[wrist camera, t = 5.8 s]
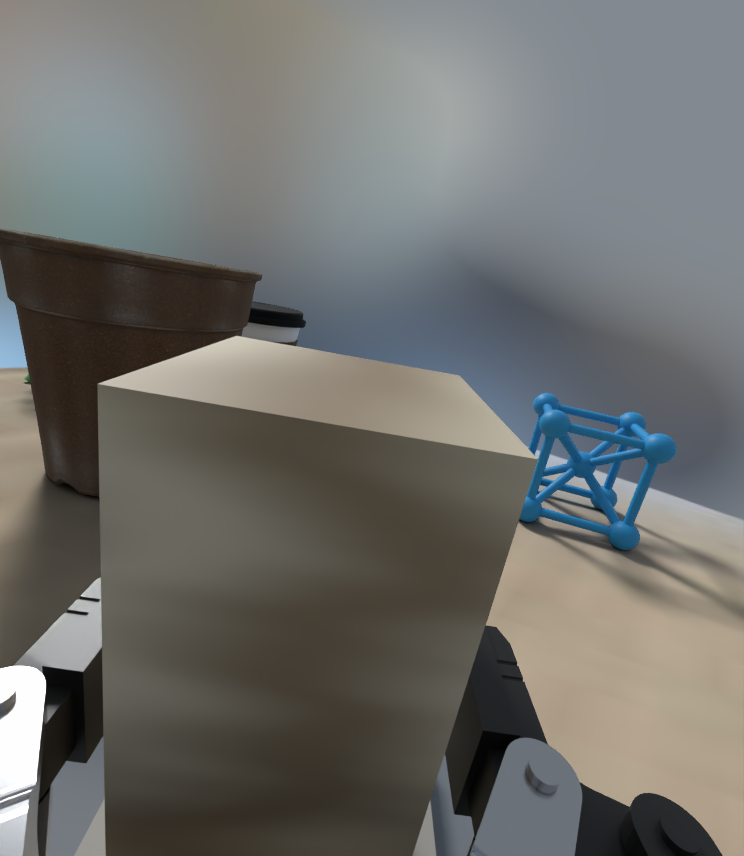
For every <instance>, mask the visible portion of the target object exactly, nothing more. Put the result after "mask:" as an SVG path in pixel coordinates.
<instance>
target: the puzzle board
mask: <svg viewBox="0 0 744 856" xmlns="http://www.w3.org/2000/svg"><path fill="white" fill-rule="evenodd" d="M52 783H53V795H52V810H51V824H50V839H49V853H48V856H106V850H105V792H104V735H103V737H102V739H101V740H100V742H99V744H98V745H97V747H96V748H95V750H94V752H93V753H92V755H91V757H90V758H89V760H88V762H87V763H78V762H71V761H66V762H65V764H64V765H63V767H62V768H61V770H60V771H59V773H58V774H57V776H56V777H55V779H54V781H53V782H52ZM473 837H474V830H473V825H472V819H471V817H470V816H462V815H455V814H454V811H453V804H452V797H451V790H450V784H449V777H448V770H447V763H446V756H445V755H444V758H443V761H442V764H441V767H440V770H439V773H438V777H437V780H436V783H435V786H434V789H433V792H432V796H431V799H430V802H429V805H428V808H427V811H426V814H425V818H424V821H423V824H422V827H421V830H420V833H419V837H418V840H417V843H416V846H415V849H414V852H413V856H467V853H468V851H469V848H470V845H471V842H472V839H473Z"/></svg>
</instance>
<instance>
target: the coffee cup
mask: <svg viewBox="0 0 744 856" xmlns="http://www.w3.org/2000/svg"><path fill="white" fill-rule="evenodd" d="M305 324H306V321H304V320H303V313H302V312H300V311H298V310H294V309H290V308H286V307H281V306H277V305H271V304H266V303H260V302H253V301H252V304H251V309H250V315H249V320H248V324H247V326H246V327H244V328H243V332H242V337H246V338H251V339H257V340H263V341H268V342H274V343H279V344H285V345H291V346H296V344H297V341H298V340H297V336H298V332H299V329H300V328H303V327H305Z"/></svg>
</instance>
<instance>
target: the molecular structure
mask: <svg viewBox="0 0 744 856" xmlns="http://www.w3.org/2000/svg"><path fill="white" fill-rule="evenodd" d="M533 407H534V410H535V412H536V413H537V414H538V415H539V416H538V420H537V423H536V426H535V429H534V432H533V436H532V439H531V442H530V445H529V450H530V451H531V452H532V453H533V454H534V455H535V452H536V449H537V446H538V443H539V440H540V436H541V433H543V434H544V435H545V439H544V443H543V445H542V449H541V452H540V455H539V458H538V461H537V464H536V468H535V471H534V474H533V477H532V480H531V483H530V486H529V489H528V493H527V496H526V499H525V502H524V505H523V508H522V511H521V515H520V518H519V519H520V520H522V521H524V522H532V521H535V520H536V519H538V518H539V516H541V517H545V518H548V519H552V520H555V521H559V522H562V523H566V524H569V525H573V526H576V527H580V528H583V529H587V530H590V531H594V532H597V533H601V534H604V535H607V536H608V540H609V541H610V543H611V544H612V545H613V546H615V547H616V548H618V549H621V550H630V549H632V548H634V547H636V546H637V544H638V543H639V540H640V534H639V531H638V529H637V528H636V527H635V526H634V525H633V524H634V522H635V519H636V517H637V514H638V512H639V510H640V507H641V505H642V502H643V500H644V497H645V495H646V492H647V490H648V488H649V485H650V483H651V480H652V477H653V475H654V473H655V471H656V468H657V466H658V464H663V463H667V462H669V461H670V460H672V459H673V458H674V456H675V455H676V452H677V447H676V444H675V442H674V440H673V439H672V438H670V437H669V436H667V435H664V434H652V435H649V434H648V433H647V432H646V431H645V428H646V421H645V419H644V417H643V416H642V415H640V414H638V413H634V412H628V413H625V414H624V415H622V416H621V417H620V418H618V417H613V416H609V415H605V414H600V413H596V412H591V411H587V410H583V409H578V408H573V407H569V406H565V405H561V404H559V401H558V399H557V398H556V397H555V396H554V395H552V394H550V393H543V394H540V395H539V396H538V397H536V399H535V400H534V404H533ZM565 413H566V414H570V415H575V416H579V417H583V418H587V419H592V420H596V421H600V422H605V423H610V424H614V425H617V427H618V430H617V431H616V432H615V433H610V432H606V431H602V430H597V429H593V428H588V427H585V426H580V425H576V424H572V423H570V420H569V418H568V416H567V415H566V414H565ZM567 432H570V433H574V434H578V435H583V436H587V437H591V438H595V439H599V440H604V442H602V443H601V444H600V445H599V446H597V447H596V448H595V449H594V450H593V451H591V452H590V453H589V454H588V453H586V452H579V451H578V450H577V448H576V446H575V445H574V443H573V441H572V440H571V438H570V436H569V435H568V433H567ZM636 436H638V437H639V438H640V439H641V440H640V439H636V438H631V437H636ZM555 438H558V439H559V440H560V442H561V443H562V444H563V446H564V447H565V449H566V450H567V452H568V453H569V455H570V458H569V459H568V462H567V464H563V465H559V466H554V467H549V468H545V467H546V464H547V461H548V458H549V455H550V452H551V449H552V445H553V443H554V439H555ZM615 443H616V444H619V446H618V449H617V452H616V453H614V454H609V455H605V456H601V457H599V456H600V455H601V454H602V453H604V452H605V451H606V450H607V449H609V448H610V447H611V446H612V445H613V444H615ZM628 446H629V447H633V448H637V449H632V450H627V447H628ZM626 450H627V451H626ZM638 457H644V458H645V459H646V460H648V461H647V463H646V466H645V468H644V471H643V473H642V476H641V478H640V481H639V483H638V486H637V488H636V491H635V493H634V496H633V498H632V501H631V503H630V506H629V508H628V511H627V513H626V516H625V518H624V521H621V520H620V519H619V517H618V515H617V513H616V511H615V509H614V508H613V507H614V506H615V505H616V503H617V495H616V493H615V492H614V491H613V490H612V487H613V484H614V482H615V479H616V476H617V474H618V471H619V469H620V466H621V463H622V461H624V460H629V459H634V458H638ZM609 463H612V465H611V468H610V471H609V473H608V476H607V478H606V481H605V484H604V486H600V485H599V483H598V481H597V480H596V478H595V477H594V475H593V472H594V471H595V469H596V466H599V465H604V464H609ZM564 472H565V473H564ZM559 473H564V474H562V475H561V476H560V477H559V478H557V479H556V480H555V481H552V480H548V479H544V478H542V477H544V476H549V475H554V474H559ZM574 476H576V477H579V478H584V479H585V480H586V482H587V484H588V485H589V487H590V489H591V490H592V491H589V490H586V489H582V488H578V487H574V486H571V485H567V484H565V483H566V482H568V481H569V480H570V479H571V478H573V477H574ZM540 485H543V486H546V488H545V489H544V490H542V491H541V492H540V493H539V494H537V492H538V489H539V486H540ZM557 490H561V491H565V492H569V493H572V494H576V495H580V496H583V497H587V498H591V502H592V504H593V505H594V506H595V507H596V508H598V509H601V510H603V511H604V513H605V514H606V516H607V518H608V519H609V521H610V523H611V525H610V527H609V526H605V525H601V524H598V523H594V522H591V521H587V520H584V519H580V518H576V517H573V516H569V515H566V514H562V513H559V512H555V511H551V510H548V509H544V508H542V506H541V503H542V502H543V501H544V500H545V499H547V498H548V497H549V496H550V495H552V494H553V493H554V492H555V491H557Z"/></svg>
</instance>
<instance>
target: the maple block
mask: <svg viewBox="0 0 744 856" xmlns="http://www.w3.org/2000/svg"><path fill="white" fill-rule="evenodd" d="M97 385H98V443H99V501H100V559H101V618H102V676H103V734H104V792H105V850H106V856H413V852H414V849H415V846H416V843H417V840H418V837H419V833H420V830H421V827H422V824H423V821H424V818H425V814H426V811H427V808H428V805H429V802H430V799H431V796H432V792H433V789H434V786H435V783H436V780H437V777H438V773H439V770H440V767H441V764H442V761H443V758H444V755H445V751H446V748H447V745H448V742H449V739H450V736H451V732H452V729H453V726H454V723H455V720H456V717H457V713H458V710H459V707H460V704H461V701H462V698H463V695H464V691H465V688H466V685H467V682H468V679H469V676H470V672H471V669H472V666H473V663H474V660H475V657H476V654H477V650H478V647H479V644H480V641H481V638H482V635H483V631H484V628H485V625H486V622H487V619H488V616H489V612H490V609H491V606H492V603H493V600H494V597H495V594H496V590H497V587H498V584H499V581H500V578H501V575H502V571H503V568H504V565H505V562H506V559H507V556H508V553H509V549H510V546H511V543H512V540H513V537H514V534H515V530H516V527H517V524H518V521H519V518H520V515H521V511H522V508H523V505H524V502H525V499H526V496H527V493H528V489H529V486H530V483H531V480H532V477H533V474H534V470H535V467H536V464H537V461H538V459H537V458H536V457H535V456H534V454H533V453H532V452H531V451H530V450H529V449H528V448H527V447H526V446H525V445H524V444H523V443H522V442H521V441H520V440H519V439H518V437H517V436H516V435H515V434H514V433H513V432H512V431H511V430H510V429H509V428H508V427H507V426H506V425H505V424H504V423H503V422H502V420H501V419H500V418H499V417H498V416H497V415H496V414H495V413H494V412H493V411H492V410H491V409H490V408H489V407H488V406H487V405H486V403H485V402H484V401H483V400H482V399H481V398H480V397H479V396H478V395H477V394H476V393H475V392H474V391H473V390H472V389H471V388H470V386H469V385H468V384H467V383H466V382H465V381H464V380H463V379H462V378H461V377H460V376H459V375H453V374H448V373H442V372H436V371H431V370H425V369H419V368H413V367H408V366H403V365H397V364H391V363H386V362H380V361H375V360H369V359H363V358H358V357H352V356H347V355H341V354H335V353H330V352H324V351H318V350H313V349H307V348H302V347H296V346H291V345H285V344H279V343H274V342H268V341H263V340H257V339H251V338H246V337H240V336H235V337H232V338H229V339H226V340H223V341H220V342H217V343H214V344H211V345H208V346H206V347H203V348H200V349H197V350H194V351H191V352H188V353H185V354H182V355H180V356H177V357H174V358H171V359H168V360H165V361H162V362H159V363H156V364H153V365H151V366H148V367H145V368H142V369H139V370H136V371H133V372H130V373H127V374H125V375H122V376H119V377H116V378H113V379H110V380H107V381H104V382H101V383H99V384H97Z"/></svg>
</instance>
